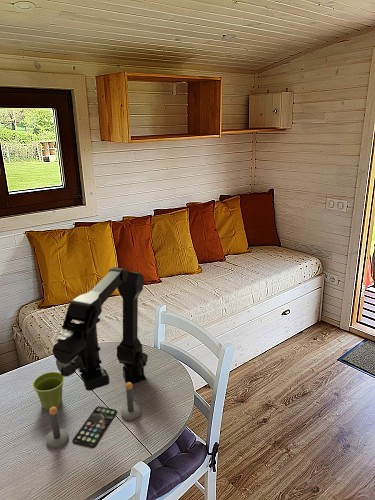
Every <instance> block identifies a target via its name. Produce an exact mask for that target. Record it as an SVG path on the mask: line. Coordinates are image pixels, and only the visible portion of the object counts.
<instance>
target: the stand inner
mask: <svg viewBox="0 0 375 500" xmlns="http://www.w3.org/2000/svg"><path fill="white" fill-rule="evenodd" d="M133 384H134V383H133ZM133 384H132V383H131V382H128V383H127V382H126V383H125V390H126V400H127V402H126V404H125V405H123V406H122V408H121V410H120V415H121V418H122V419H123V420H125V421H134V420H137V419H138V418H140V416H141V415H142V414H141V413H142V410H141V406H140V405H139V404H137V403H134V393H133V391H134V390H133V388H134V385H133Z"/></svg>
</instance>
